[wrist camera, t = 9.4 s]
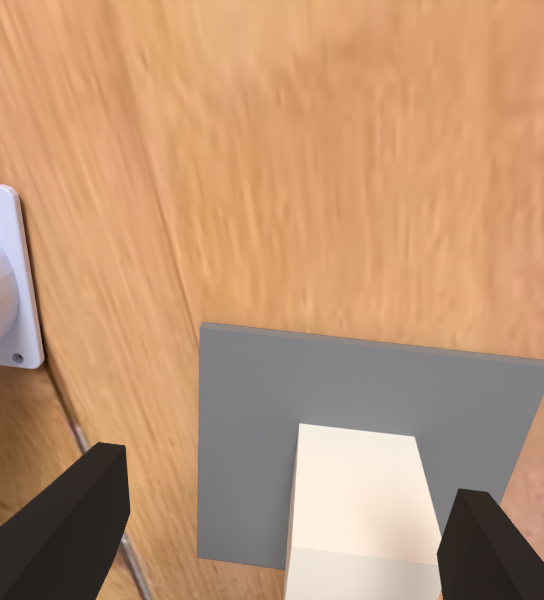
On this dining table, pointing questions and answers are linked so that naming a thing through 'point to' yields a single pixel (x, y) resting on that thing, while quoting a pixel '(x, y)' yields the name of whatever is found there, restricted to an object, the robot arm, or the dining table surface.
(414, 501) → the cream block
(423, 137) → the dining table surface
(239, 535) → the charcoal mat
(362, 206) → the dining table surface
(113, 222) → the dining table surface
